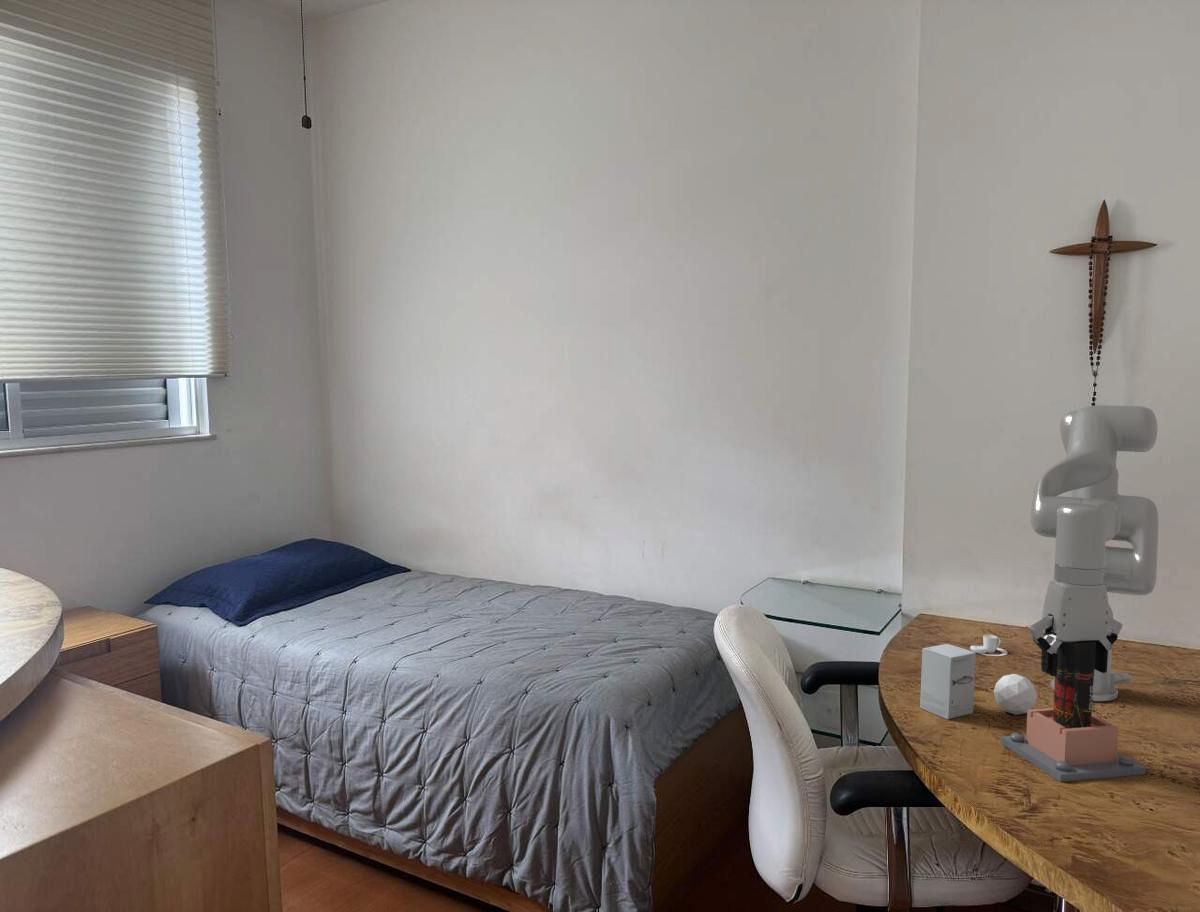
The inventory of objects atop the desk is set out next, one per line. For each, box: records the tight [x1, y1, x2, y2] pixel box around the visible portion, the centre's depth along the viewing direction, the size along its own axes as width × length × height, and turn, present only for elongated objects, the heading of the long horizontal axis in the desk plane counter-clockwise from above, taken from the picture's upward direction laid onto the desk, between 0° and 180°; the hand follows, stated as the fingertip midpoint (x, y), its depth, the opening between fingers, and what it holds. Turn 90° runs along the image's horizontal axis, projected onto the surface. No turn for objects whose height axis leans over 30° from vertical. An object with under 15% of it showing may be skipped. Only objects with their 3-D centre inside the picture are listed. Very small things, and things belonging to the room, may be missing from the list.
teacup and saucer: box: [969, 634, 1009, 657], centre depth 217 cm, size 9×8×4 cm
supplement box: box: [919, 643, 977, 721], centre depth 177 cm, size 7×7×13 cm
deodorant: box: [1052, 641, 1096, 728], centre depth 155 cm, size 6×6×15 cm
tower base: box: [1000, 707, 1146, 783], centre depth 155 cm, size 16×16×7 cm
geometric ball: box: [993, 673, 1038, 716], centre depth 177 cm, size 8×8×8 cm
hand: (1073, 672), depth 154 cm, fingers open, 9 cm apart
